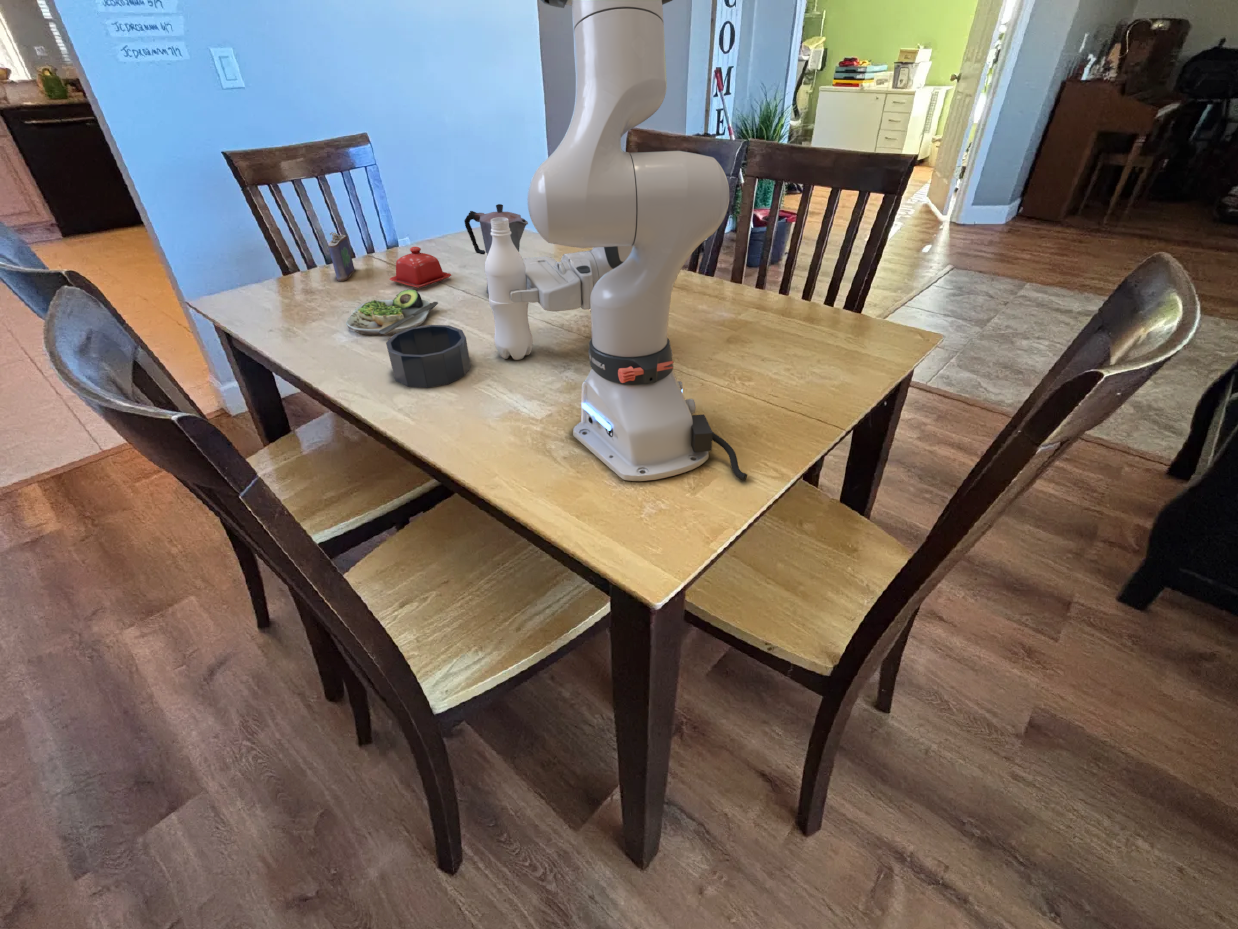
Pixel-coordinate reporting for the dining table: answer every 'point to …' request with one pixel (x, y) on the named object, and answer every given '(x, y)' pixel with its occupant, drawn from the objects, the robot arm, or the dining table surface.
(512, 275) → the water bottle
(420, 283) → the butter dish
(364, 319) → the avocado toast plate
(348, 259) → the flask
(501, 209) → the moka pot
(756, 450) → the dining table surface
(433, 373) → the dark grey faceted ring
